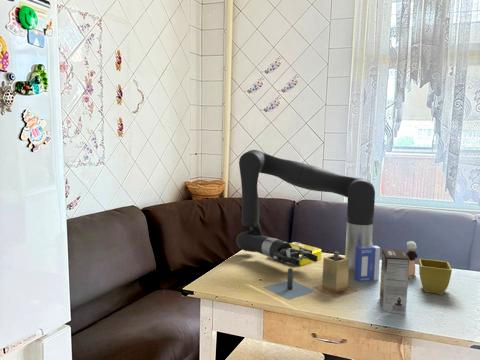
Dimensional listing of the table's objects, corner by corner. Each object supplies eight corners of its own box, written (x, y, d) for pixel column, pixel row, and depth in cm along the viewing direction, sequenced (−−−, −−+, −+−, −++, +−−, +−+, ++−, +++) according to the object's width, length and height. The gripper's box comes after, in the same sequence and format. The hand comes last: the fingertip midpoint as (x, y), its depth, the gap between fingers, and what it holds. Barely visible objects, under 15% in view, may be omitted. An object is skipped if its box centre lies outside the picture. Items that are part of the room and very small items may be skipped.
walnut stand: (333, 282, 139) (334, 246, 138) (357, 291, 131) (359, 253, 130) (312, 288, 134) (313, 250, 132) (336, 298, 126) (338, 258, 124)
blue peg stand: (290, 280, 140) (291, 260, 139) (317, 292, 131) (317, 269, 130) (263, 288, 133) (263, 266, 132) (288, 300, 124) (289, 277, 123)
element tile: (269, 258, 167) (270, 246, 166) (294, 251, 177) (294, 240, 176) (298, 267, 156) (299, 255, 155) (323, 259, 166) (323, 248, 165)
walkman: (358, 282, 140) (359, 247, 138) (354, 279, 142) (355, 245, 141) (379, 281, 141) (381, 246, 140) (375, 278, 144) (376, 244, 143)
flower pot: (446, 288, 136) (448, 261, 135) (450, 298, 128) (452, 269, 127) (417, 284, 139) (418, 258, 138) (419, 293, 131) (420, 266, 130)
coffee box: (378, 299, 126) (381, 247, 124) (401, 301, 124) (404, 249, 122) (382, 312, 117) (386, 256, 115) (407, 314, 115) (410, 258, 114)
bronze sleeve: (334, 284, 136) (335, 254, 135) (347, 289, 132) (349, 259, 131) (322, 288, 133) (323, 257, 132) (335, 293, 129) (337, 262, 127)
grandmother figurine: (408, 272, 151) (410, 238, 149) (419, 275, 148) (421, 240, 146) (399, 277, 145) (401, 242, 144) (410, 280, 142) (412, 244, 141)
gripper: (261, 242, 150) (293, 253, 137) (290, 237, 158) (323, 246, 145) (261, 262, 151) (292, 275, 138) (290, 256, 159) (322, 267, 146)
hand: (308, 260), depth 141 cm, fingers open, 8 cm apart
